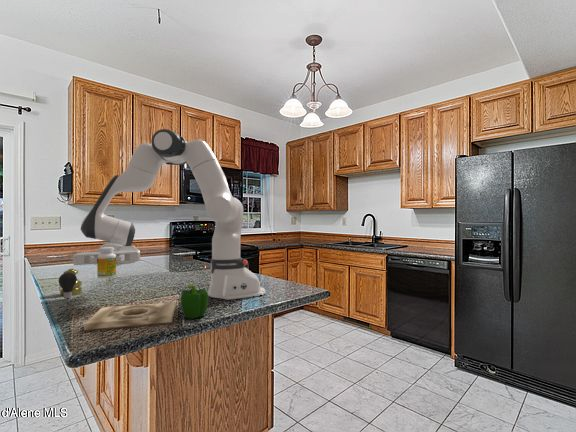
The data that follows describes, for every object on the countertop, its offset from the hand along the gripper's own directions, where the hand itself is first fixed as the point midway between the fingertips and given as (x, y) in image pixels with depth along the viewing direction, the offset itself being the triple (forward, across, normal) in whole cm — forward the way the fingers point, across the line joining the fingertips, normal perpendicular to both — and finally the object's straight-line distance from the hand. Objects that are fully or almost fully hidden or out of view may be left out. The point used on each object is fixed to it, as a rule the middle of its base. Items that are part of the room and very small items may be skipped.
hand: (106, 259), depth 104 cm
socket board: (+14, +8, +17) cm, 23 cm away
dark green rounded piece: (-33, -15, +17) cm, 40 cm away
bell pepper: (+20, +25, +17) cm, 36 cm away
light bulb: (-24, -14, +17) cm, 32 cm away
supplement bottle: (-1, 0, +6) cm, 6 cm away
